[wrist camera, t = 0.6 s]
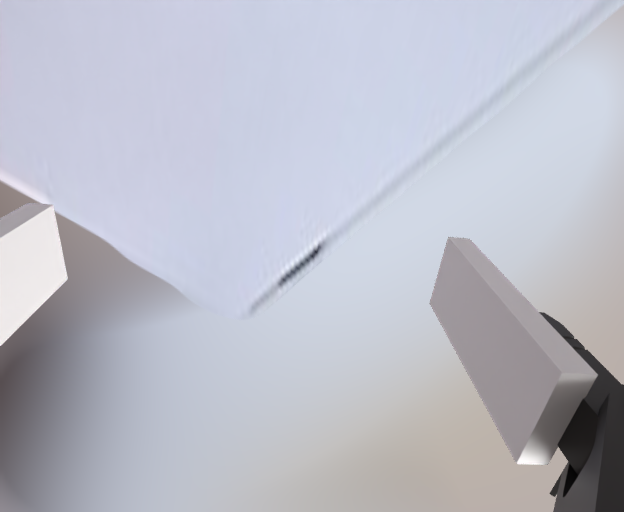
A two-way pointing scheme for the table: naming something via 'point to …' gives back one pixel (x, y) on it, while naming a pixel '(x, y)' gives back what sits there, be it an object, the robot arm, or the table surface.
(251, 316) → the table surface
